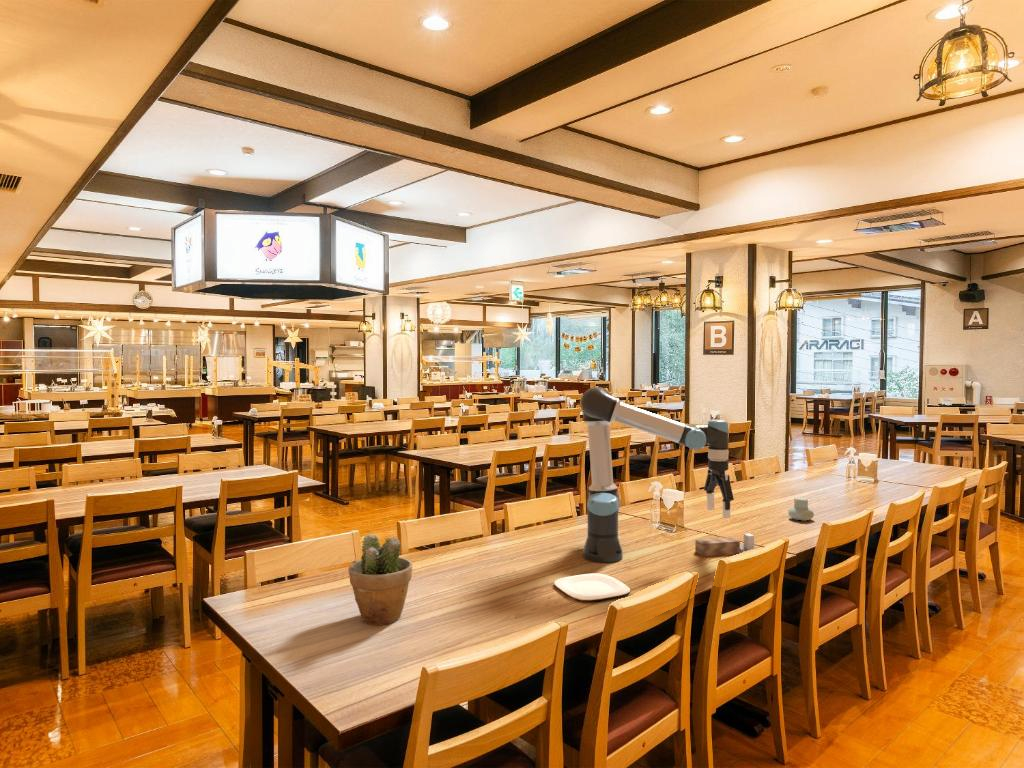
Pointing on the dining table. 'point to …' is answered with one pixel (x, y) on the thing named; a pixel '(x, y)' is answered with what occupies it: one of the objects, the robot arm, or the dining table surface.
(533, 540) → the dining table surface
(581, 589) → the plate
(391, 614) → the potted plant
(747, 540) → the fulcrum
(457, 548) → the dining table surface
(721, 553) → the beam
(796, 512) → the air freshener
